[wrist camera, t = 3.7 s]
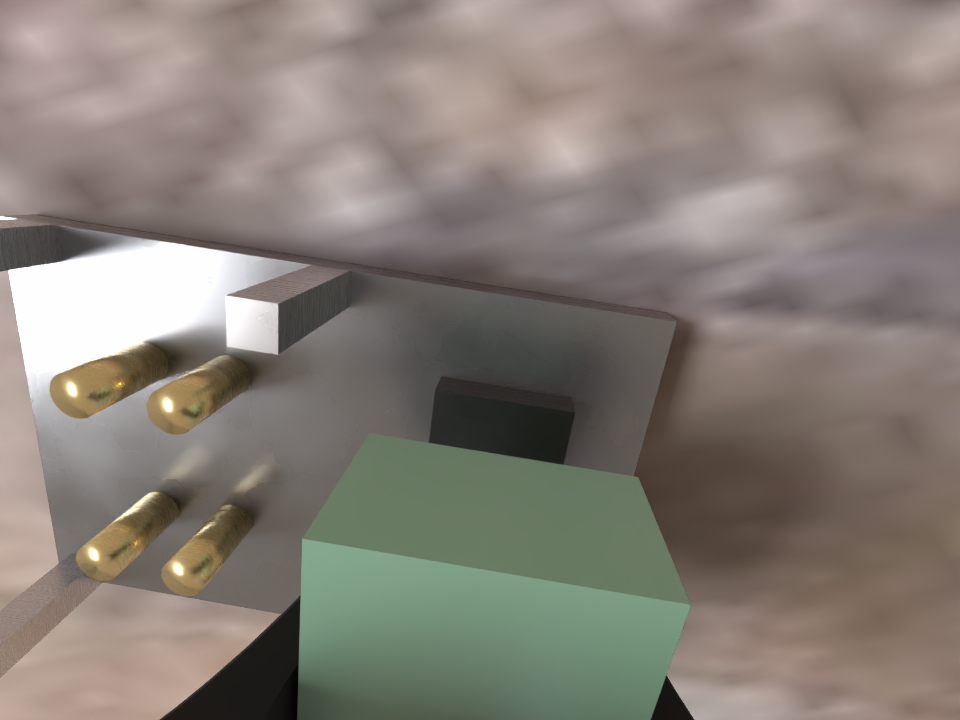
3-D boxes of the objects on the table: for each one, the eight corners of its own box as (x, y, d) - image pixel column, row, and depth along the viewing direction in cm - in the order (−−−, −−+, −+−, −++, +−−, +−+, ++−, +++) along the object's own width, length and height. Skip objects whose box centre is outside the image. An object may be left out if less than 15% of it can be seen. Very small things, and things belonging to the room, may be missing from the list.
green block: (637, 477, 9) (701, 631, 6) (556, 771, 12) (568, 990, 8) (369, 433, 9) (288, 559, 6) (347, 733, 12) (281, 934, 9)
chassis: (666, 313, 14) (742, 377, 9) (576, 641, 18) (596, 807, 13) (33, 214, 14) (-211, 226, 9) (84, 554, 18) (-70, 682, 13)
